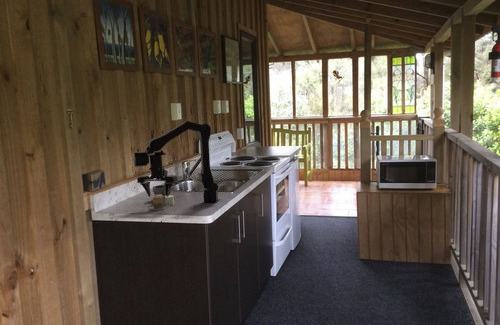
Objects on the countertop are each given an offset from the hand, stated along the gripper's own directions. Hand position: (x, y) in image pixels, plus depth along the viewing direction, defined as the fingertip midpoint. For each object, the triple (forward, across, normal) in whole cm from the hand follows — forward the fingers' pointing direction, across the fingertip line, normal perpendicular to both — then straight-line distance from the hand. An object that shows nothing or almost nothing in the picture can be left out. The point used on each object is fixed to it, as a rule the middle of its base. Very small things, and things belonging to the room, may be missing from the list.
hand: (158, 196), depth 219 cm
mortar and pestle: (+6, +6, -20) cm, 21 cm away
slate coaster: (+6, 0, 0) cm, 6 cm away
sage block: (+6, -1, -9) cm, 11 cm away
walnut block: (+5, 0, 0) cm, 5 cm away
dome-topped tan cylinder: (+6, +4, -9) cm, 11 cm away
